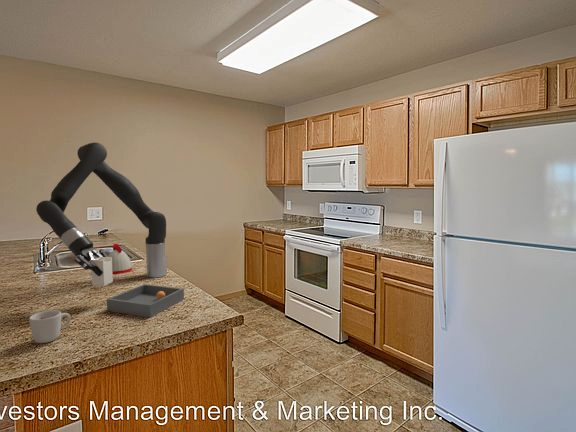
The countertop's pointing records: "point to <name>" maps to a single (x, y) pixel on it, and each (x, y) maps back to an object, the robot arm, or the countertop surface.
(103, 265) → the open white crate
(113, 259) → the cream and red dome
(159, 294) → the ball
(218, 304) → the countertop surface
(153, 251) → the robot arm
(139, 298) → the tray
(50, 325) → the cup
